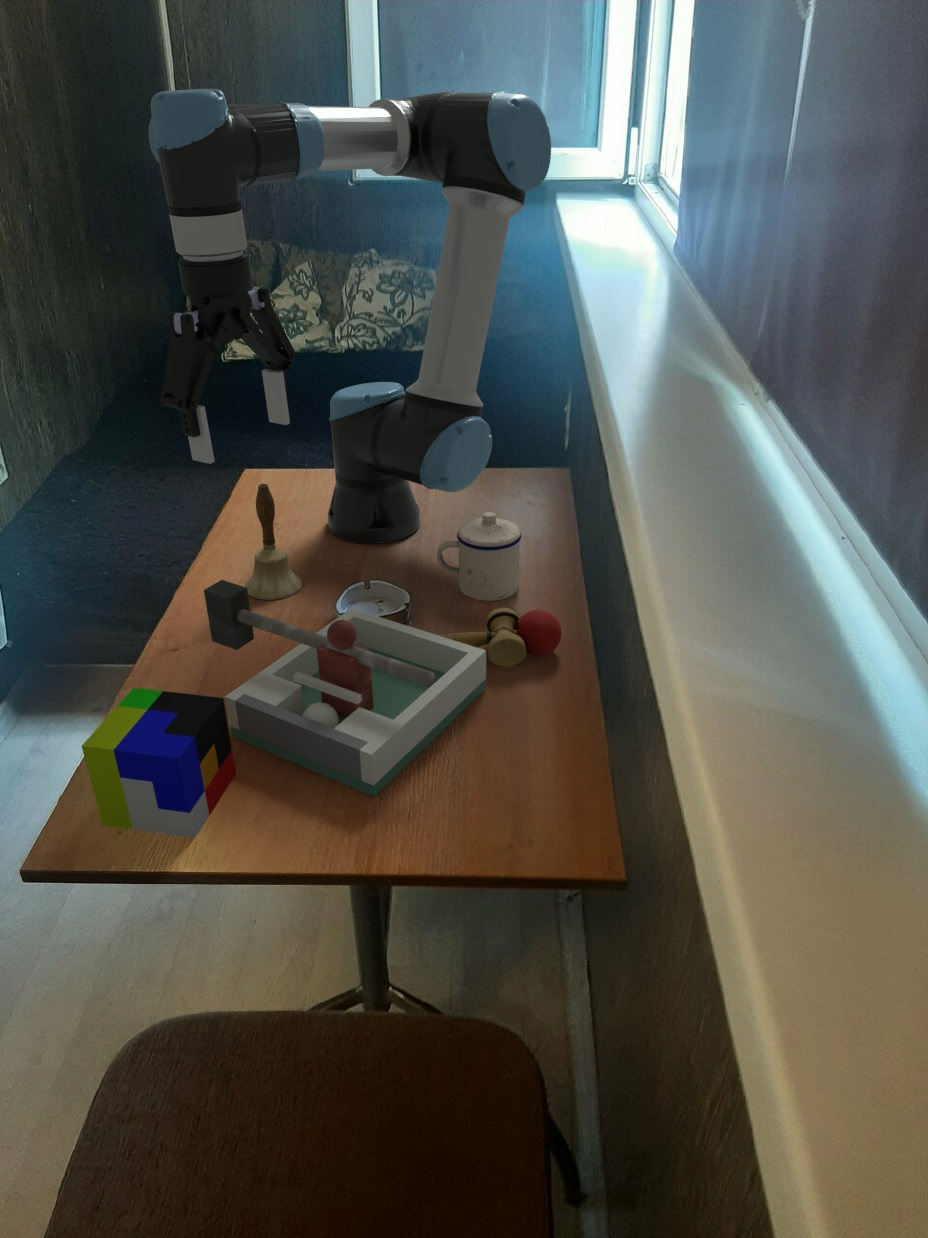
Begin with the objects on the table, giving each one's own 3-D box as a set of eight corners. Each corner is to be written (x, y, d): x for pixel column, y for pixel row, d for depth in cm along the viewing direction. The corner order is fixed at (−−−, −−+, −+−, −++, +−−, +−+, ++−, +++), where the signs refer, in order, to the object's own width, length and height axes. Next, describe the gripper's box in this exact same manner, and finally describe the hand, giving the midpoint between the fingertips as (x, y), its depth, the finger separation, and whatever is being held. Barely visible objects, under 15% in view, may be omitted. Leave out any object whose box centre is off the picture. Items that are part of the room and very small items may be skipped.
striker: (234, 655, 118) (221, 574, 112) (440, 731, 104) (438, 643, 98) (216, 668, 116) (202, 585, 110) (424, 747, 102) (421, 657, 96)
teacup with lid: (520, 573, 141) (521, 501, 135) (520, 603, 133) (522, 528, 128) (439, 572, 142) (438, 500, 136) (435, 602, 134) (433, 526, 128)
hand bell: (306, 573, 142) (296, 473, 134) (297, 600, 135) (286, 496, 127) (251, 573, 142) (237, 473, 134) (239, 600, 135) (224, 496, 127)
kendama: (425, 685, 118) (568, 662, 118) (416, 639, 116) (561, 615, 116) (425, 662, 126) (560, 640, 125) (417, 617, 124) (554, 595, 123)
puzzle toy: (195, 838, 93) (178, 758, 88) (102, 825, 95) (81, 745, 90) (236, 774, 102) (223, 698, 97) (150, 763, 103) (133, 687, 98)
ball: (289, 721, 102) (303, 738, 105) (318, 732, 101) (331, 750, 104) (308, 691, 104) (321, 709, 107) (337, 701, 102) (350, 719, 105)
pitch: (354, 644, 124) (350, 595, 120) (485, 688, 115) (486, 637, 111) (231, 736, 107) (222, 683, 104) (374, 796, 98) (370, 740, 94)
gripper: (261, 231, 113) (284, 404, 124) (98, 274, 94) (143, 472, 106) (311, 235, 109) (331, 412, 120) (152, 281, 91) (192, 484, 102)
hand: (243, 441), depth 113 cm, fingers open, 13 cm apart
